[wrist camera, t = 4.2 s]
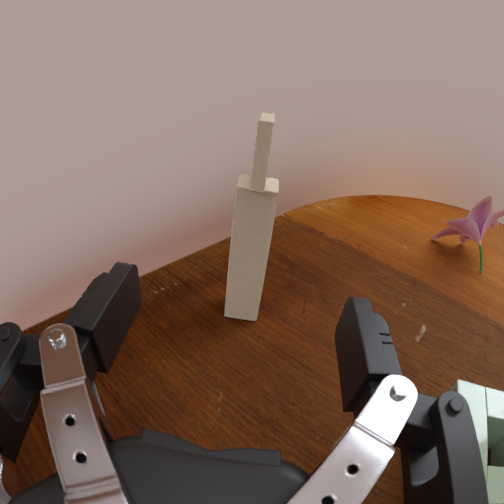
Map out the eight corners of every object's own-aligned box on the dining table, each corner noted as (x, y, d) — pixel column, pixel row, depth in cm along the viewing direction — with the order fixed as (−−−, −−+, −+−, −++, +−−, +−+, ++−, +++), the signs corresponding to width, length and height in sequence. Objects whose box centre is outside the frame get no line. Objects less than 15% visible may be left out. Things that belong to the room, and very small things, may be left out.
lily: (493, 263, 38) (491, 201, 37) (527, 275, 27) (527, 196, 26) (427, 267, 41) (424, 202, 41) (448, 281, 30) (446, 196, 30)
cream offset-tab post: (222, 322, 22) (242, 117, 15) (229, 291, 25) (249, 110, 18) (255, 327, 22) (290, 124, 15) (259, 295, 25) (288, 115, 18)
